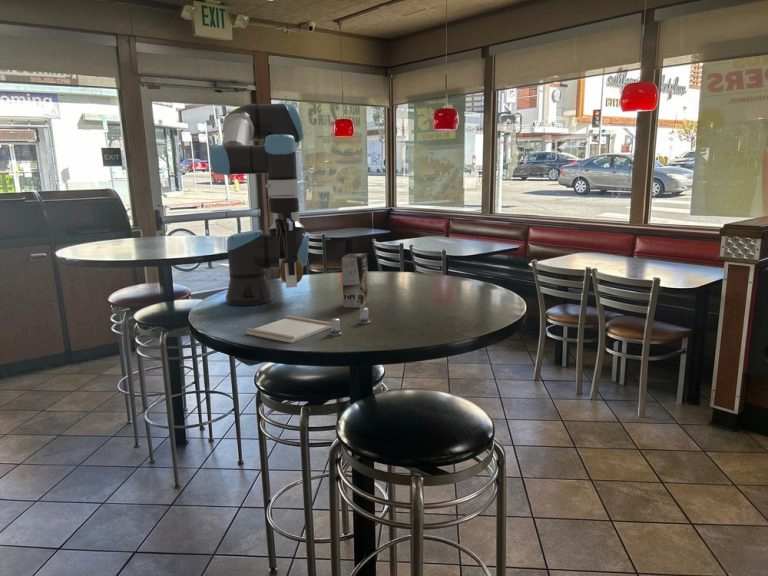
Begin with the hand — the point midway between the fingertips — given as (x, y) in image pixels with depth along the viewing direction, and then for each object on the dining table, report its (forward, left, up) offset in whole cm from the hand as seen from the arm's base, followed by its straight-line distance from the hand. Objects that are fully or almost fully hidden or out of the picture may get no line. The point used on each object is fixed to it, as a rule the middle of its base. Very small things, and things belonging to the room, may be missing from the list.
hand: (288, 284), depth 147 cm
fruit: (+1, +1, 0) cm, 1 cm away
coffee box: (-2, +33, -13) cm, 35 cm away
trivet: (0, 0, -13) cm, 13 cm away
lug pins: (+13, +10, -13) cm, 20 cm away
